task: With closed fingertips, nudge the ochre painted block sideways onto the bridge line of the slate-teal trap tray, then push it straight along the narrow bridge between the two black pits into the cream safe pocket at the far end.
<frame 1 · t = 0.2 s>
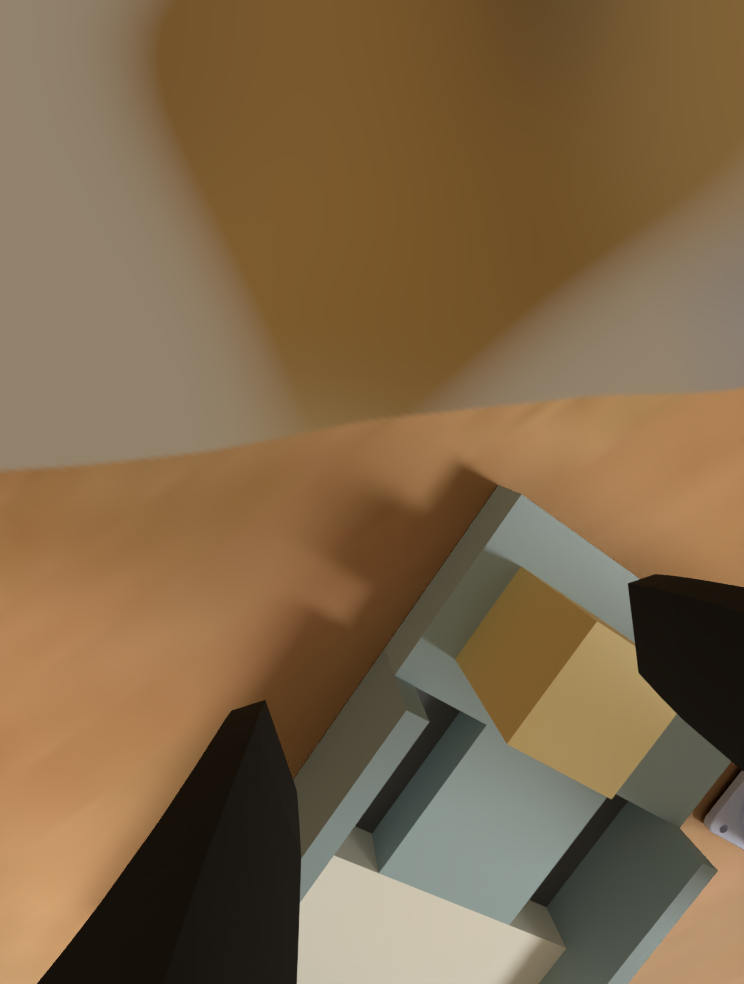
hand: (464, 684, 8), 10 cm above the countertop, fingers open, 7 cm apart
ochre block: (529, 639, 18), point 2 cm above the countertop, touching trap tray
trap tray: (483, 788, 21), on the countertop
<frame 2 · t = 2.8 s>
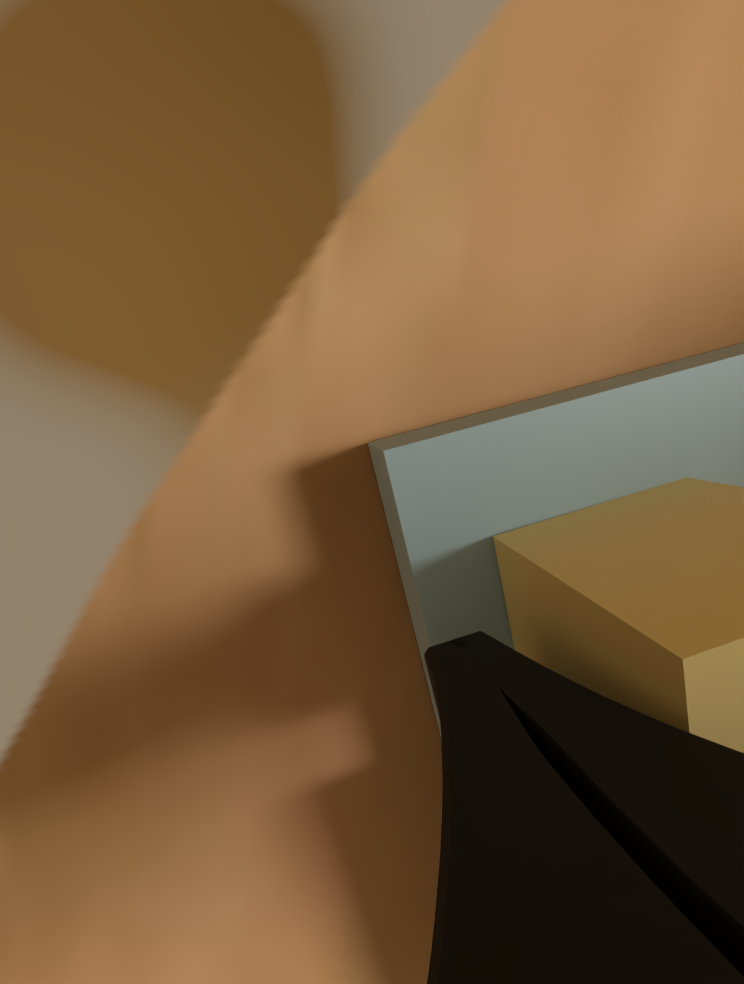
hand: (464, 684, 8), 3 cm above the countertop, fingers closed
ochre block: (605, 601, 10), point 2 cm above the countertop, touching gripper, trap tray
trap tray: (720, 751, 14), on the countertop
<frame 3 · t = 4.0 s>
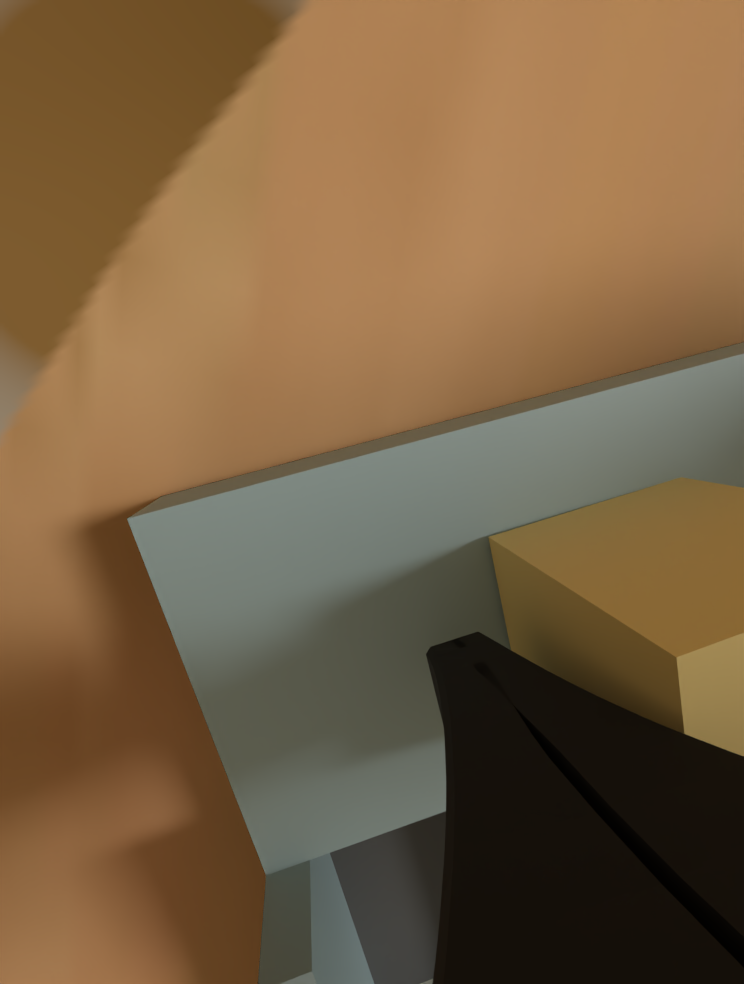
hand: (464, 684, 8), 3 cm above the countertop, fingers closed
ochre block: (601, 602, 10), point 2 cm above the countertop, touching gripper, trap tray
trap tray: (581, 801, 13), on the countertop
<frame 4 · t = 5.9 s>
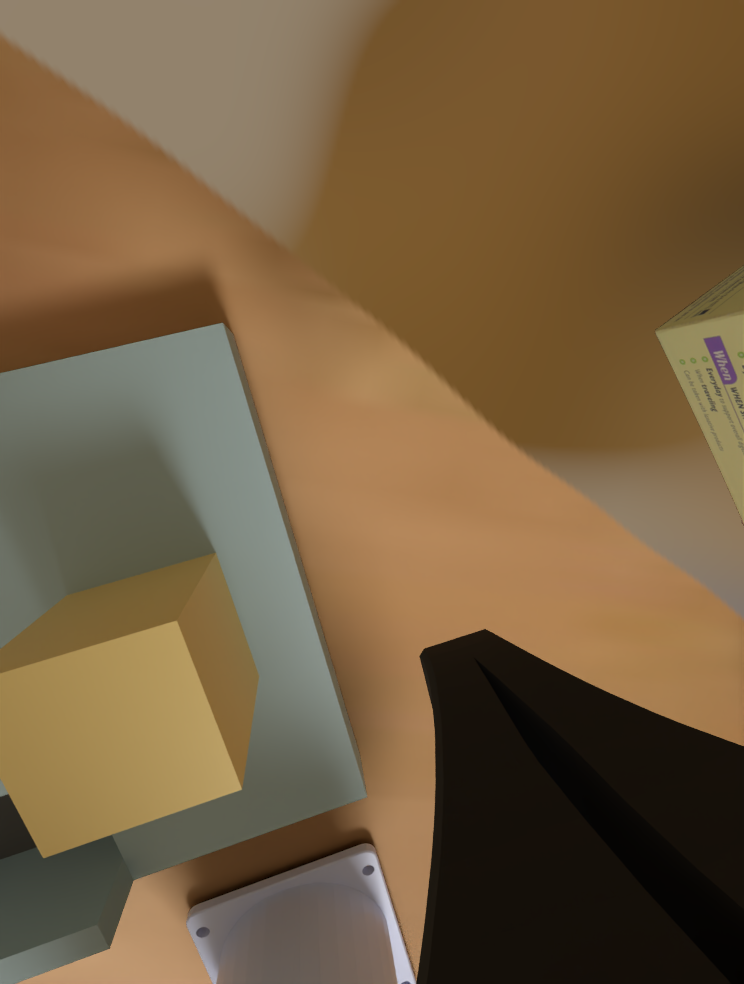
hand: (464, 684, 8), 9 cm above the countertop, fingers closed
ochre block: (168, 637, 14), point 2 cm above the countertop, touching trap tray
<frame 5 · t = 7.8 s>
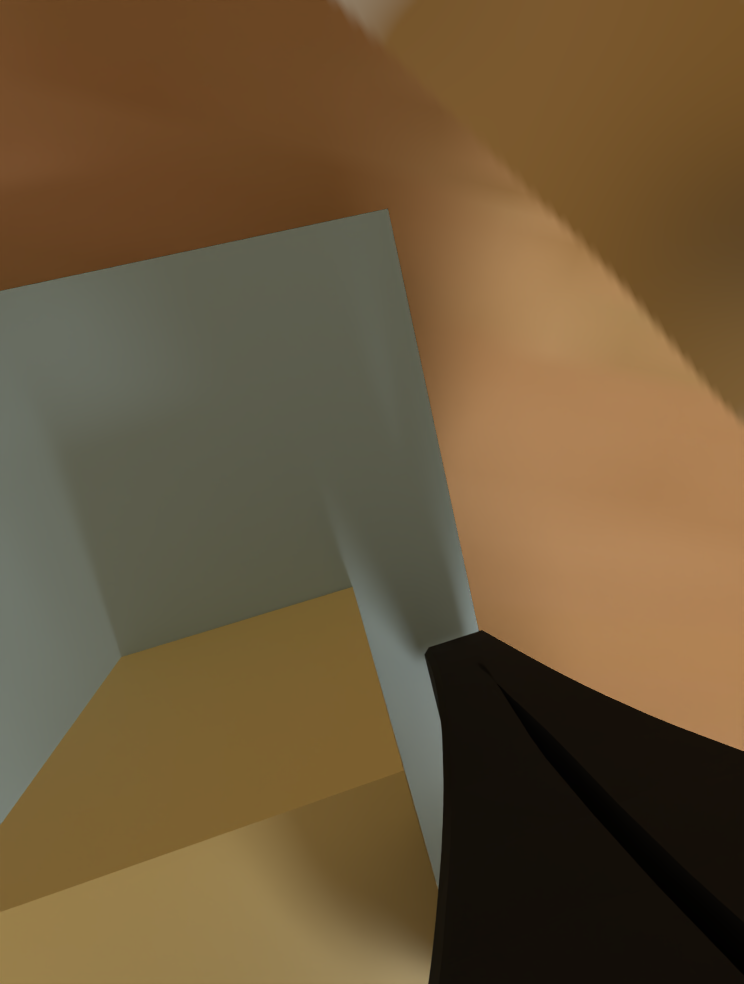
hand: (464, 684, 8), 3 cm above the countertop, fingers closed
ochre block: (274, 718, 9), point 2 cm above the countertop, touching gripper, trap tray
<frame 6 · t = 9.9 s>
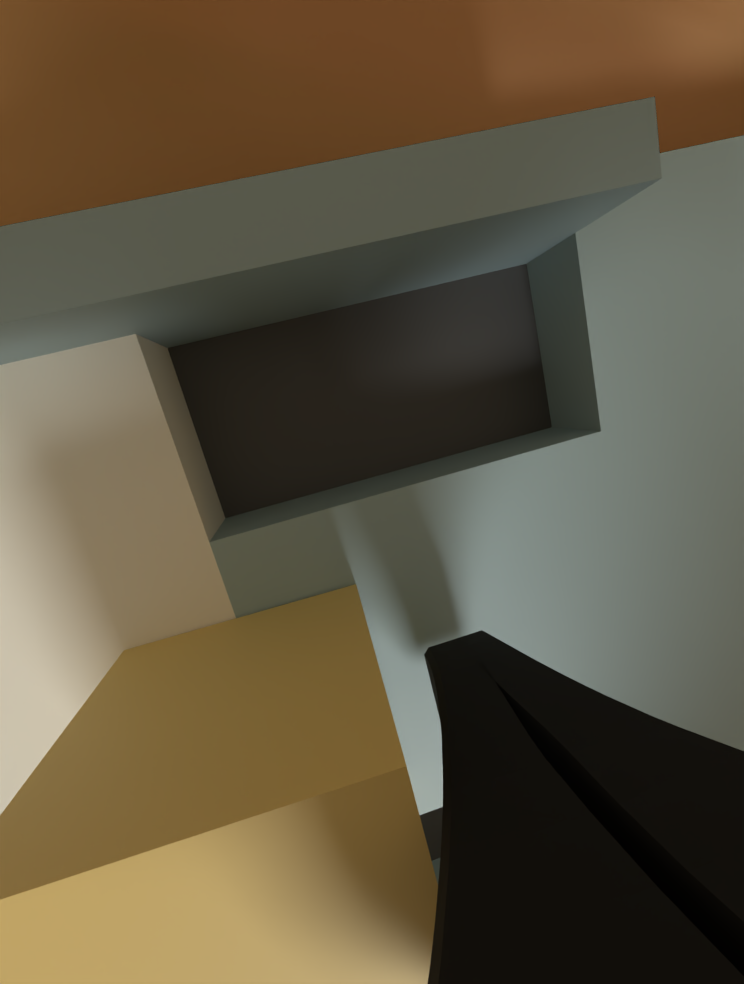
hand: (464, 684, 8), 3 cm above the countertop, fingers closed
ochre block: (275, 714, 9), point 2 cm above the countertop, touching gripper
trap tray: (436, 606, 11), on the countertop
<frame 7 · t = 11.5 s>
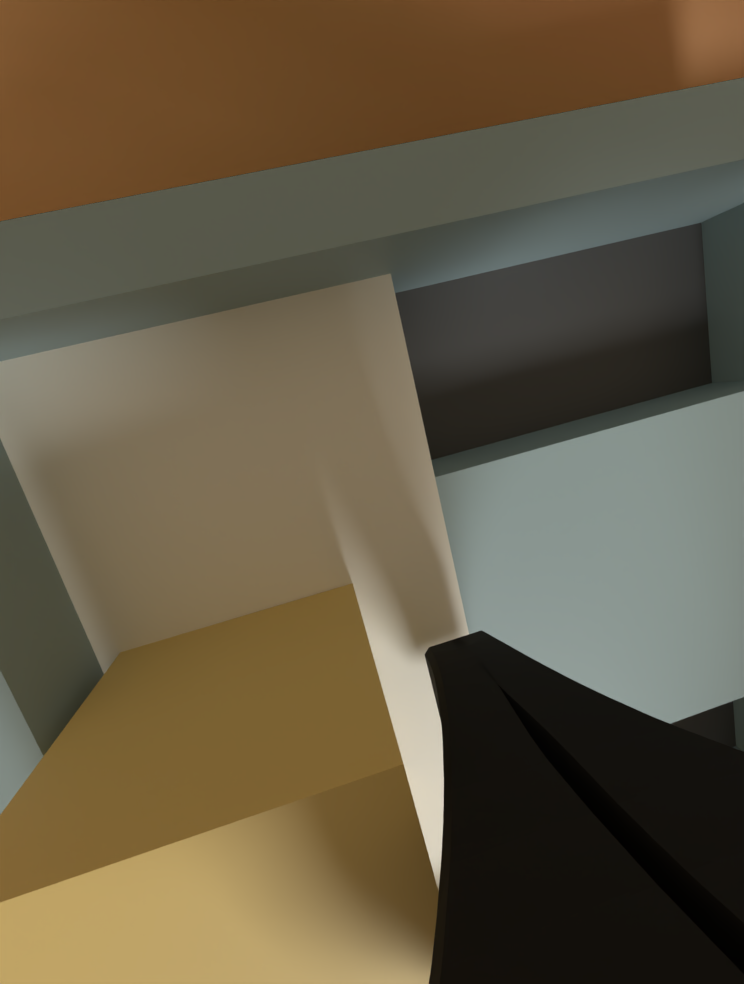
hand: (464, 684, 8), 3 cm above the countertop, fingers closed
ochre block: (273, 714, 9), point 2 cm above the countertop, touching gripper, trap tray
trap tray: (591, 557, 12), on the countertop
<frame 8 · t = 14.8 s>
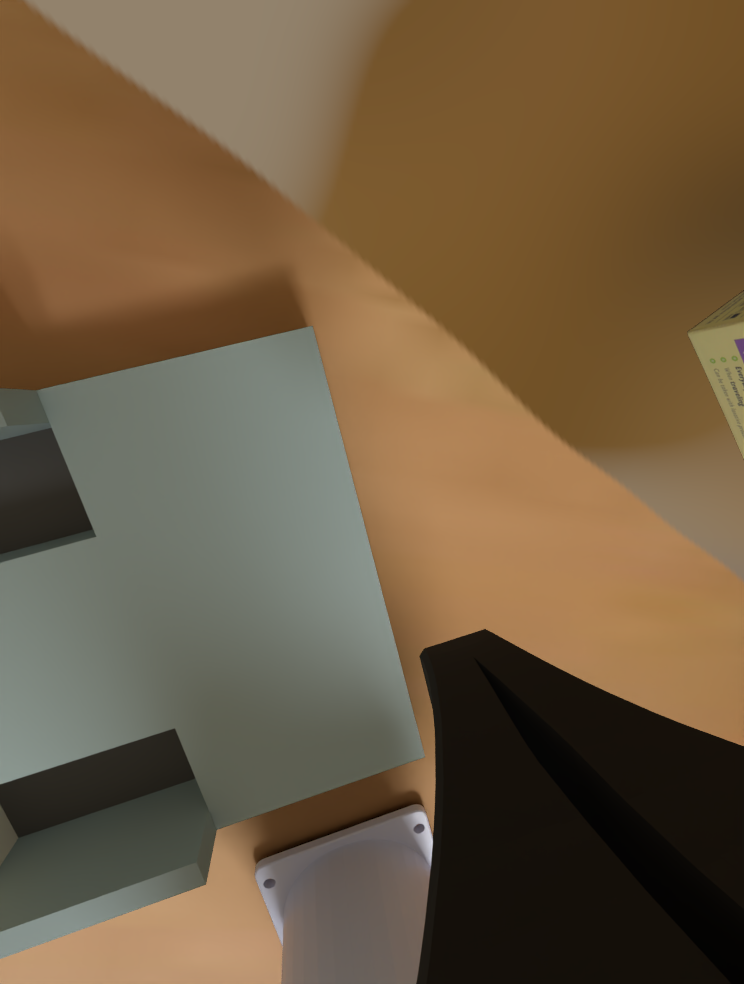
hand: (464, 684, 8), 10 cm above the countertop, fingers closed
trap tray: (56, 640, 17), on the countertop
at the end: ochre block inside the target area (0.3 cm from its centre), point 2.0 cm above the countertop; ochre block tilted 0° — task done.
